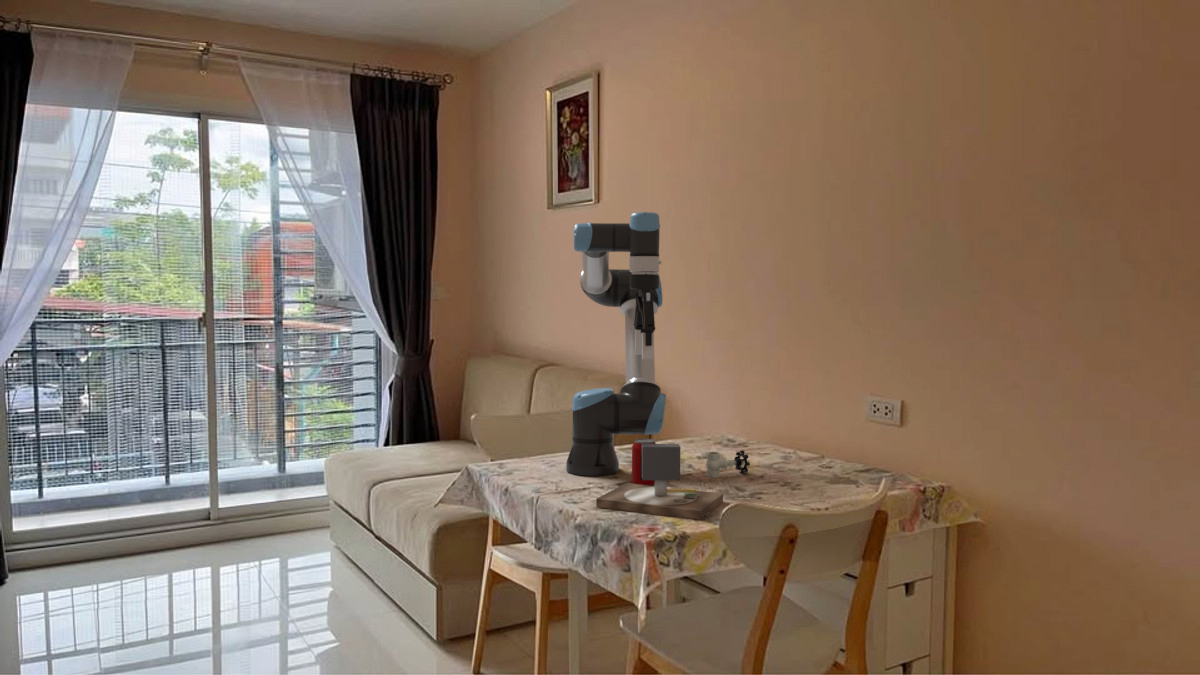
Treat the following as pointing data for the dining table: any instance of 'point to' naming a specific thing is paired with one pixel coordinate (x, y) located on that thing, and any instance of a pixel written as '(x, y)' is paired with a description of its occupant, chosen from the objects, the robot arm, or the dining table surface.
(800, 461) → the dining table surface
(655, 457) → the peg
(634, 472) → the beverage can
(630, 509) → the brown wooden board
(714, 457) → the valve
